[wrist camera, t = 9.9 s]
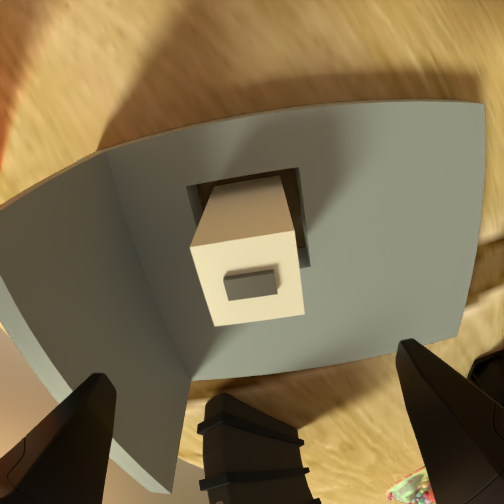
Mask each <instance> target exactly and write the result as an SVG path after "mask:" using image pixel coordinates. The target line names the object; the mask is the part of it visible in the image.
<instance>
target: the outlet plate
mask: <svg viewBox="0 0 504 504" xmlns="http://www.w3.org/2000/svg"><path fill="white" fill-rule="evenodd" d="M289 168H295V171H296V178H297V185H298V193H299V200H300V208H301V216H302V224H303V233H304V241H305V247H304V248H297V253H298V261H299V269H300V277H301V285H302V294H303V303H304V311H305V314H304V315H297V316H291V317H284V318H277V319H270V320H263V321H255V322H248V323H240V324H232V325H223V326H214V323H213V320H212V317H211V314H210V311H209V308H208V305H207V302H206V299H205V296H204V292H203V289H202V286H201V283H200V280H199V277H198V273H197V270H196V267H195V264H194V260H193V257H192V254H191V250H190V245H191V243H192V240H193V238H194V235H195V232H196V230H197V227H198V225H199V222H200V220H201V217H202V215H203V210H202V205H201V201H200V197H199V193H198V189H197V185H196V184H201V183H206V182H211V181H217V180H222V179H228V178H233V177H239V176H245V175H251V174H257V173H263V172H269V171H276V170H282V169H289ZM484 177H485V106H484V104H483V103H478V102H472V101H466V100H452V99H383V100H362V101H347V102H335V103H324V104H314V105H305V106H297V107H289V108H282V109H275V110H268V111H262V112H255V113H249V114H244V115H238V116H233V117H227V118H222V119H217V120H212V121H208V122H203V123H198V124H194V125H189V126H185V127H181V128H177V129H173V130H169V131H165V132H161V133H157V134H153V135H149V136H146V137H142V138H139V139H135V140H132V141H128V142H125V143H122V144H118V145H115V146H112V147H109V148H105V149H102V150H99V151H96V152H94V153H92V154H90V155H88V156H86V157H83V158H81V159H79V160H77V162H75V163H73V164H71V165H69V166H68V167H66V168H64V169H62V170H60V171H58V172H56V173H54V174H52V175H51V176H49V177H47V178H45V179H43V180H42V181H40V182H38V183H36V184H34V185H33V186H31V187H29V188H28V189H26V190H24V191H22V192H21V193H19V194H17V195H16V196H14V197H13V198H11V199H9V200H8V201H6V202H5V203H3V204H1V205H0V322H1V323H2V325H3V327H4V328H5V330H6V331H7V333H8V335H9V336H10V338H11V339H12V340H13V342H14V344H15V345H16V347H17V348H18V350H19V351H20V353H21V354H22V356H23V357H24V358H25V360H26V361H27V363H28V364H29V365H30V367H31V368H32V370H33V371H34V372H35V374H36V375H37V376H38V378H39V379H40V380H41V382H42V383H43V384H44V385H45V387H46V388H47V389H48V390H49V392H50V393H51V394H52V395H53V397H54V398H55V399H56V400H57V401H58V403H59V404H60V403H61V402H62V401H63V400H64V399H65V398H66V397H67V396H68V395H70V394H71V393H72V392H73V391H74V390H75V389H76V388H77V387H78V386H79V385H80V384H81V383H82V382H84V381H85V380H86V379H87V378H88V377H89V376H90V375H91V374H92V373H95V372H100V373H105V374H106V375H107V376H108V378H109V379H110V381H111V382H112V384H113V385H114V387H115V388H116V391H117V399H116V409H115V419H114V430H113V437H112V443H111V448H110V454H109V457H111V458H112V459H113V460H114V461H115V462H116V463H117V464H118V465H119V466H120V467H121V468H123V469H124V470H125V471H126V472H127V473H128V474H129V475H131V476H132V477H133V478H134V479H135V480H137V481H138V482H139V483H140V484H141V485H143V486H144V487H145V488H146V489H147V490H149V491H150V492H157V493H167V494H172V488H173V482H174V475H175V469H176V463H177V457H178V451H179V445H180V439H181V433H182V428H183V422H184V416H185V411H186V405H187V400H188V394H189V389H190V383H191V381H192V380H209V379H224V378H236V377H247V376H257V375H266V374H274V373H282V372H290V371H297V370H304V369H311V368H317V367H324V366H330V365H335V364H341V363H347V362H352V361H357V360H362V359H367V358H372V357H377V356H381V355H386V354H390V353H395V352H397V349H398V343H399V341H401V340H404V339H408V338H413V339H415V340H416V341H418V342H419V343H420V344H422V345H427V344H431V343H435V342H438V341H442V340H446V339H449V338H452V337H456V336H457V334H458V331H459V327H460V323H461V320H462V316H463V312H464V308H465V304H466V300H467V296H468V292H469V287H470V282H471V278H472V273H473V267H474V262H475V256H476V251H477V244H478V238H479V230H480V223H481V214H482V204H483V193H484Z"/></svg>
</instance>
